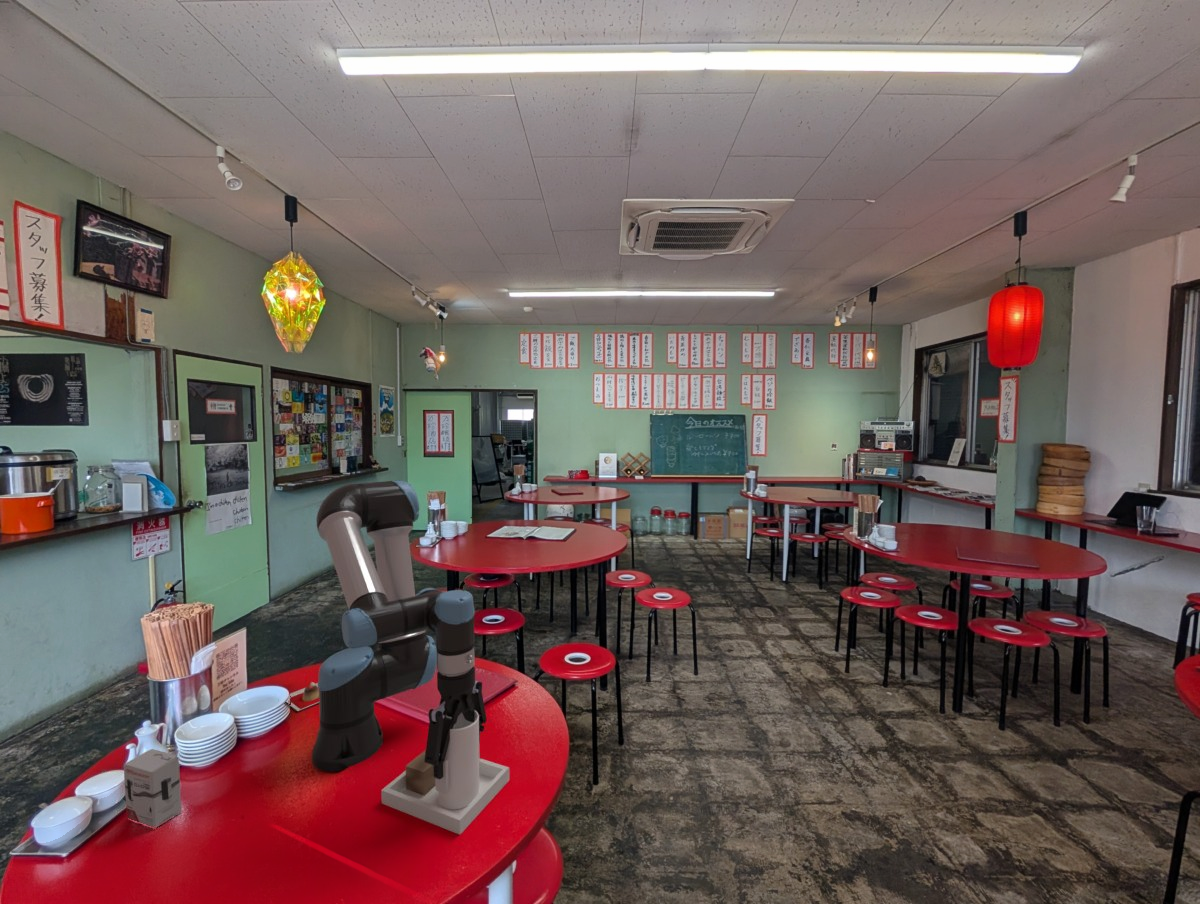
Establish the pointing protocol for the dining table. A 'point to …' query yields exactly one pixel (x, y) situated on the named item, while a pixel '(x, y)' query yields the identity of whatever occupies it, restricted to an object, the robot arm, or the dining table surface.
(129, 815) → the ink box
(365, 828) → the dining table surface
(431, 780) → the walnut block
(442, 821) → the tray
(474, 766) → the cup
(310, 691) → the dessert
